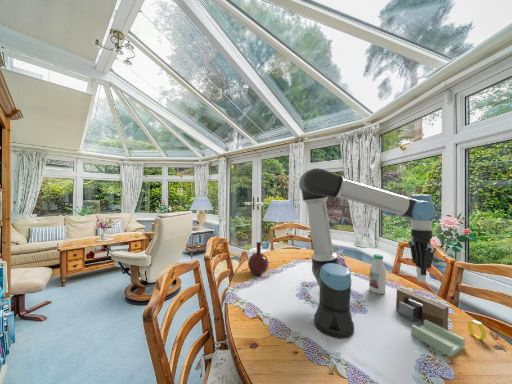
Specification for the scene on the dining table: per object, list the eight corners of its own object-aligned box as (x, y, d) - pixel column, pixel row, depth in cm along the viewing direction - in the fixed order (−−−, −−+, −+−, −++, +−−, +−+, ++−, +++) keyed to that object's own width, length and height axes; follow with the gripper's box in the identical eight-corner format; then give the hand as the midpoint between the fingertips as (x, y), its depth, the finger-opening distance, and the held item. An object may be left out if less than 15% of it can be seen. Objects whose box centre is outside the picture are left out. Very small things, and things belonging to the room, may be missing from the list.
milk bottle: (381, 288, 121) (382, 253, 121) (388, 295, 113) (389, 257, 113) (366, 287, 122) (368, 252, 122) (372, 293, 114) (374, 256, 114)
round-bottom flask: (245, 270, 141) (246, 240, 141) (264, 269, 145) (264, 240, 145) (250, 279, 129) (251, 246, 128) (271, 276, 132) (272, 245, 132)
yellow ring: (465, 332, 85) (465, 317, 85) (473, 333, 84) (473, 317, 85) (480, 342, 79) (480, 325, 79) (488, 343, 78) (488, 326, 79)
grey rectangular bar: (412, 322, 90) (413, 308, 90) (398, 314, 96) (399, 301, 96) (438, 314, 97) (439, 301, 97) (424, 307, 102) (424, 295, 102)
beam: (442, 331, 84) (443, 309, 84) (396, 308, 101) (396, 289, 100) (447, 328, 86) (448, 306, 86) (401, 306, 102) (401, 287, 102)
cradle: (464, 348, 75) (464, 338, 75) (450, 357, 71) (450, 346, 71) (425, 328, 86) (425, 319, 86) (411, 334, 82) (411, 325, 82)
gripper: (442, 231, 89) (442, 288, 89) (418, 226, 102) (418, 275, 102) (424, 231, 89) (424, 288, 89) (402, 226, 102) (403, 275, 102)
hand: (421, 281), depth 95 cm, fingers closed
